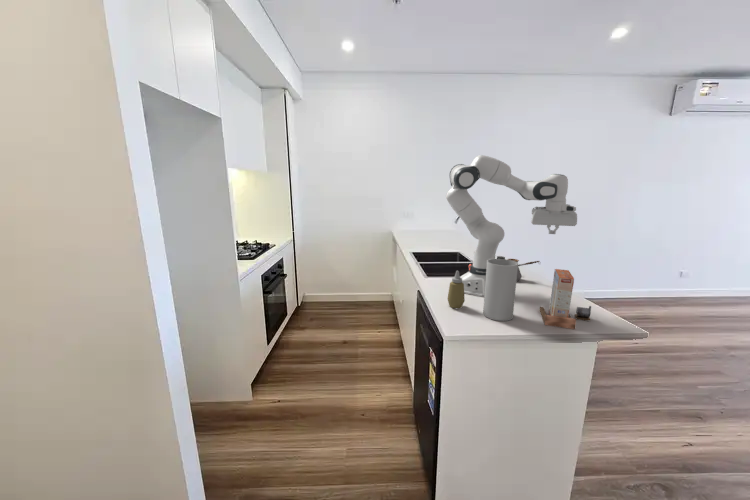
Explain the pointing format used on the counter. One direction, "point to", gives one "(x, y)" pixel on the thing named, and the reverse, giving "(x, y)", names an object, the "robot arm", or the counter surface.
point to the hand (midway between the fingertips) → (551, 233)
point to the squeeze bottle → (456, 292)
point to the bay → (557, 320)
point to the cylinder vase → (500, 289)
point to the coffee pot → (521, 265)
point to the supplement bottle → (500, 257)
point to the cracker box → (561, 293)
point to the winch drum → (583, 313)
